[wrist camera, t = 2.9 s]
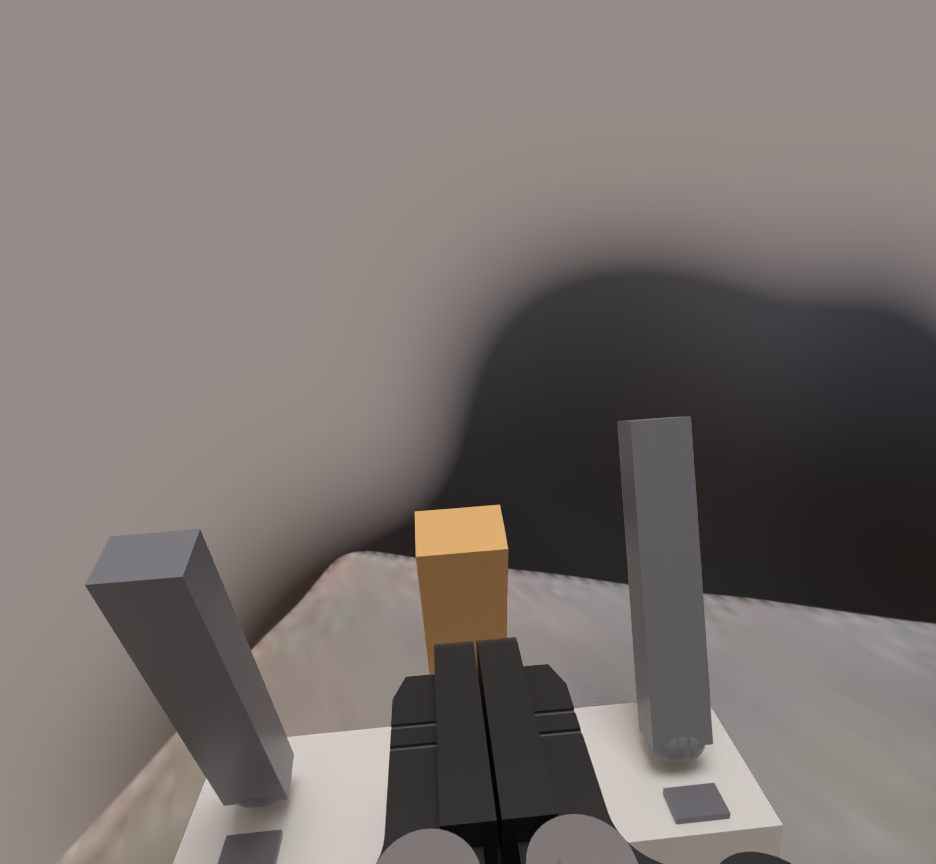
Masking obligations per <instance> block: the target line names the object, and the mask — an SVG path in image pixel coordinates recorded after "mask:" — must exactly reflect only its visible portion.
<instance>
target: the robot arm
mask: <svg viewBox="0 0 936 864" xmlns="http://www.w3.org/2000/svg"><path fill="white" fill-rule="evenodd" d="M476 654H477V665H476V657H475V650H474V643H473V641H467V642H455V643H443V644H434V665H435V674H433V675H422V676H410V677H406V678H405V679H404V681H403V683H402V685H401V686H400V688H399V690H398V691H397V693H396V695H395V696H394V698H393V704H392V720H391V737H390V753H389V770H388V786H387V803H386V819H385V835H384V843H383V847H382V850H381V854H380V856H379V858H378V860H377V863H376V864H663V863H660V862H658V861H655V860H653V859H651V858H649V857H647V856H646V855H644V854H642V853H641V852H639V851H638V850H637V849H635V848H634V847H633V846H631V845H630V844H629V843H628V842H627V841H626V840H625V839H624V837H623V836H622V835H621V834H620V833H619V832H618V830H617V829H616V827H615V826H614V824H613V822H612V820H611V818H610V816H609V813H608V810H607V807H606V804H605V801H604V798H603V795H602V792H601V789H600V786H599V783H598V780H597V777H596V774H595V771H594V767H593V764H592V761H591V758H590V755H589V752H588V749H587V746H586V743H585V740H584V737H583V734H582V733H581V728H580V725H579V722H578V718H577V715H576V713H575V712H574V706H573V703H572V700H571V697H570V694H569V691H568V688H567V685H566V683H565V682H564V681H563V680H562V679H561V678H560V677H559V676H558V675H557V673H556V672H555V671H554V670H553V669H552V668H551V667H550V666H549V665H548V664H546V665H534V666H523V664H522V659H521V655H520V651H519V647H518V643H517V639H516V637H512V638H501V639H489V640H477V641H476ZM720 864H791V863H789V862H787V861H785V860H783V859H781V858H778V857H776V856H773V855H769V854H766V853H760V852H741V853H736V854H734V855H731V856H729V857H727V858H726V859H724V860H723V861H722V862H721V863H720Z"/></svg>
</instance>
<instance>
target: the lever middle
mask: <svg viewBox="0 0 936 864" xmlns="http://www.w3.org/2000/svg"><path fill="white" fill-rule="evenodd" d="M415 536H416V537H415V538H416V562H417V570H418V579H419V587H420V596H421V604H422V613H423V621H424V630H425V638H426V647H427V655H428V664H429V672H430V675H433V674H435V665H434V644H443V643H455V642H467V641H473V643H474V650H475V657H476V665H477V654H476V641H477V640H489V639H501V638H507V584H508V546H507V540H506V535H505V530H504V524H503V519H502V514H501V509H500V505H492V506H480V507H467V508H455V509H443V510H431V511H418V512H415Z"/></svg>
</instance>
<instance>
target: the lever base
mask: <svg viewBox="0 0 936 864" xmlns="http://www.w3.org/2000/svg"><path fill="white" fill-rule="evenodd" d="M574 712H575V713H576V715H577V718H578V722H579V725H580V728H581V733H582V734H583V737H584V740H585V743H586V746H587V749H588V752H589V755H590V758H591V761H592V764H593V767H594V771H595V774H596V777H597V780H598V783H599V786H600V789H601V792H602V795H603V798H604V801H605V804H606V807H607V810H608V813H609V816H610V818H611V820H612V822H613V824H614V826H615V827H616V829H617V830H618V832H619V833H620V834H621V835H622V836H623V837H624V839H625V840H626V841H627V842H628V843H629V844H630V845H631V846H633V847H634V848H635V849H637V850H638V851H639V852H641V853H642V854H644V855H646V856H647V857H649V858H651V859H653V860H655V861H658V862H660V863H663V864H720V863H721V862H722V861H723V860H724V859H726V858H727V857H729V856H731V855H734V854H736V853H741V852H760V853H766V854H769V855H773V856H776V857H778V852H779V846H780V840H781V833H782V827H783V825H782V823H781V821H780V820H779V818H778V816H777V815H776V813H775V811H774V810H773V808H772V807H771V805H770V803H769V802H768V800H767V798H766V797H765V795H764V793H763V792H762V790H761V788H760V787H759V785H758V783H757V782H756V780H755V779H754V777H753V775H752V774H751V772H750V770H749V769H748V767H747V765H746V764H745V762H744V760H743V759H742V757H741V756H740V754H739V752H738V751H737V749H736V747H735V746H734V744H733V742H732V741H731V739H730V737H729V736H728V734H727V732H726V731H725V729H724V728H723V726H722V724H721V723H720V721H719V719H718V718H717V716H716V714H715V713H714V711H713V709H712V708H711V720H712V735H713V744H712V745H705V748H704V751H703V752H702V754H701V755H700V756H699V757H698V758H697V759H695V760H693V761H688V762H680V763H667V762H663V761H661V760H659V759H658V758H657V757H655V756H654V755H653V754H652V753H651V751H650V750H649V748H648V747H647V744H646V741H645V737H644V736H643V734H642V733H641V731H640V730H639V721H638V707H637V702H633V703H623V704H613V705H603V706H593V707H583V708H574ZM390 737H391V727H384V728H374V729H364V730H354V731H344V732H334V733H324V734H314V735H304V736H294V737H287V739H288V741H289V743H290V746H291V748H292V751H293V753H294V759H293V767H292V779H291V784H290V788H289V795H288V799H284V800H279V801H278V802H276V803H274V804H272V805H269V806H264V807H254V808H245V807H241V806H239V805H228V806H224V805H223V804H222V802H221V800H220V799H219V797H218V796H217V794H216V792H215V791H214V789H213V788H212V786H211V785H210V783H209V781H208V780H207V778H206V780H205V783H204V786H203V788H202V791H201V793H200V796H199V798H198V801H197V803H196V806H195V809H194V811H193V814H192V816H191V819H190V821H189V824H188V827H187V829H186V832H185V834H184V837H183V839H182V842H181V845H180V847H179V850H178V852H177V855H176V857H175V860H174V862H173V864H376V863H377V860H378V858H379V856H380V854H381V850H382V847H383V843H384V835H385V819H386V803H387V786H388V770H389V753H390Z"/></svg>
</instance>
